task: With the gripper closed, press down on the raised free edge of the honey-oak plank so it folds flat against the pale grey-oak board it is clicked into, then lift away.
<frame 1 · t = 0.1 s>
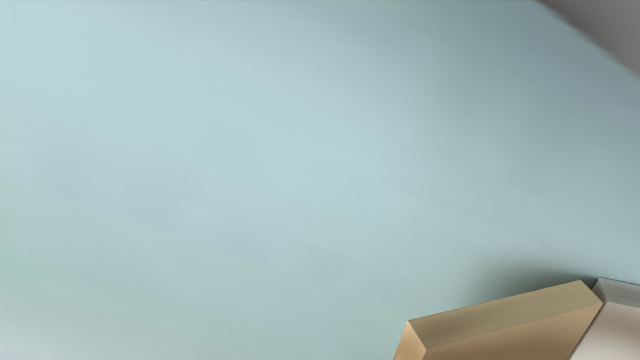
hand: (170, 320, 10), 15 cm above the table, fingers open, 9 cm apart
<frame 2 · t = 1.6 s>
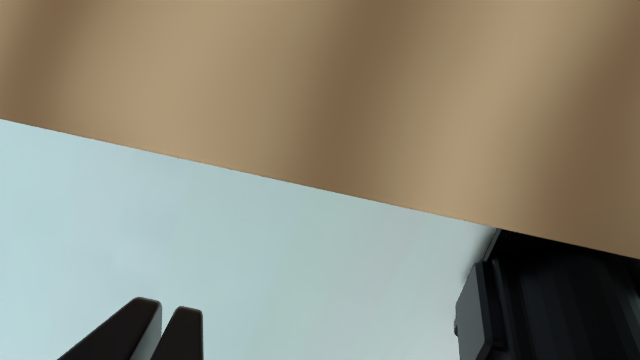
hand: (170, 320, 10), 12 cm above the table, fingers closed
oak plank: (399, 25, 15), point 3 cm above the table, hinge at 30.0°
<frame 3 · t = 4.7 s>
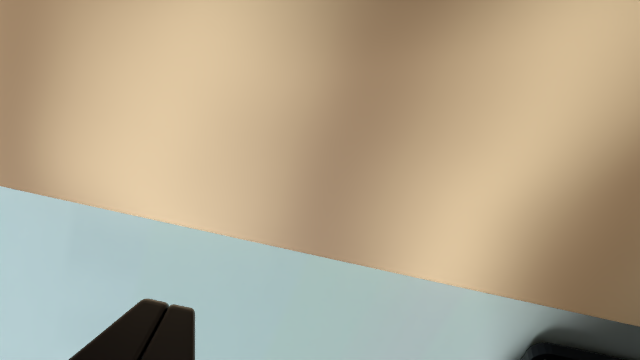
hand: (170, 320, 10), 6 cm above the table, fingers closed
oak plank: (399, 94, 13), point 1 cm above the table, hinge at -0.8°
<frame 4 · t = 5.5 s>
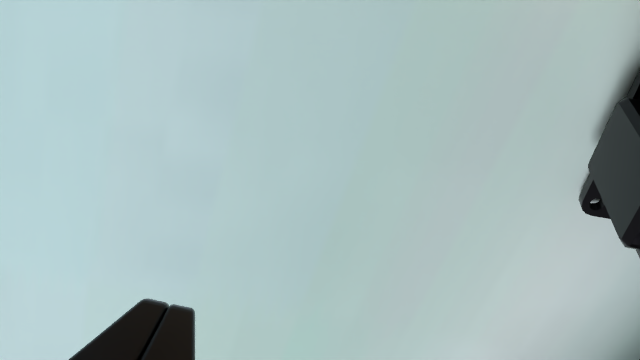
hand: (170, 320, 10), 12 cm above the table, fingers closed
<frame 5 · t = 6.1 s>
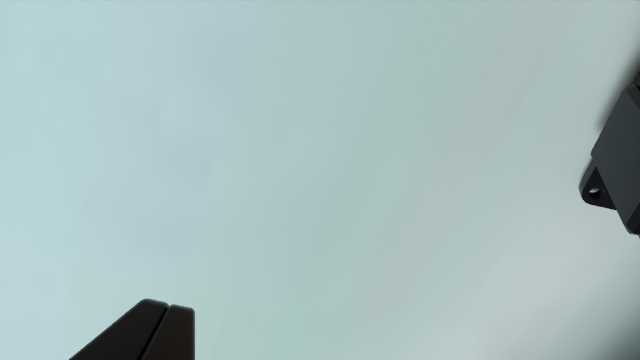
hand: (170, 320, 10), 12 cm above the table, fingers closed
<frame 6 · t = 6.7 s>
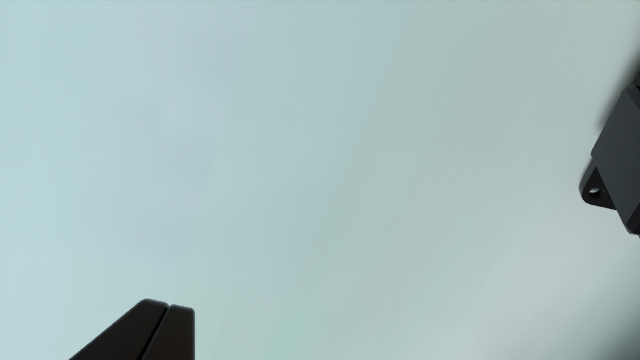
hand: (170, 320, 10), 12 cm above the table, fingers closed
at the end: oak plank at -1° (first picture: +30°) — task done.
